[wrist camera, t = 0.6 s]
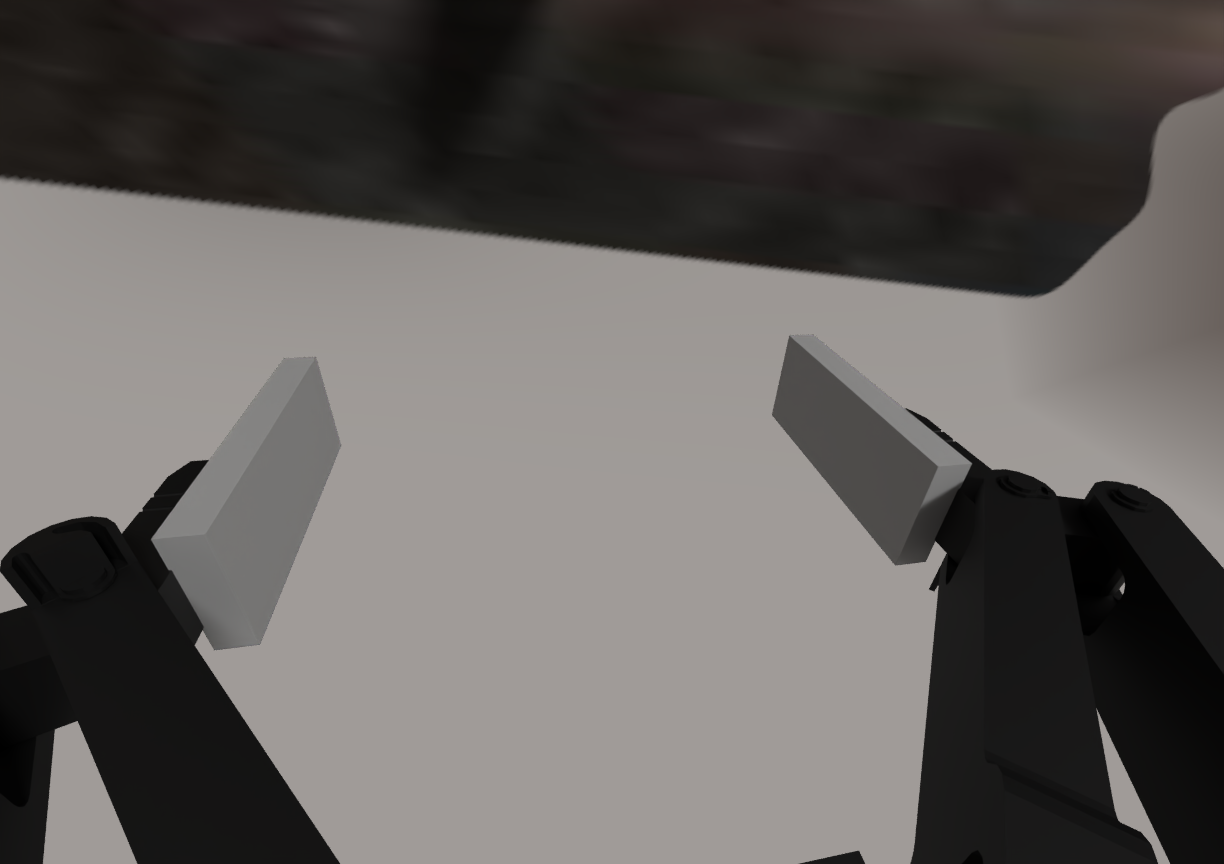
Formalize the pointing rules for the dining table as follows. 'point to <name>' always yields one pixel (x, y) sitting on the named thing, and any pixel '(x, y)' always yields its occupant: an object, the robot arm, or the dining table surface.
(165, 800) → the robot arm
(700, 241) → the dining table surface
